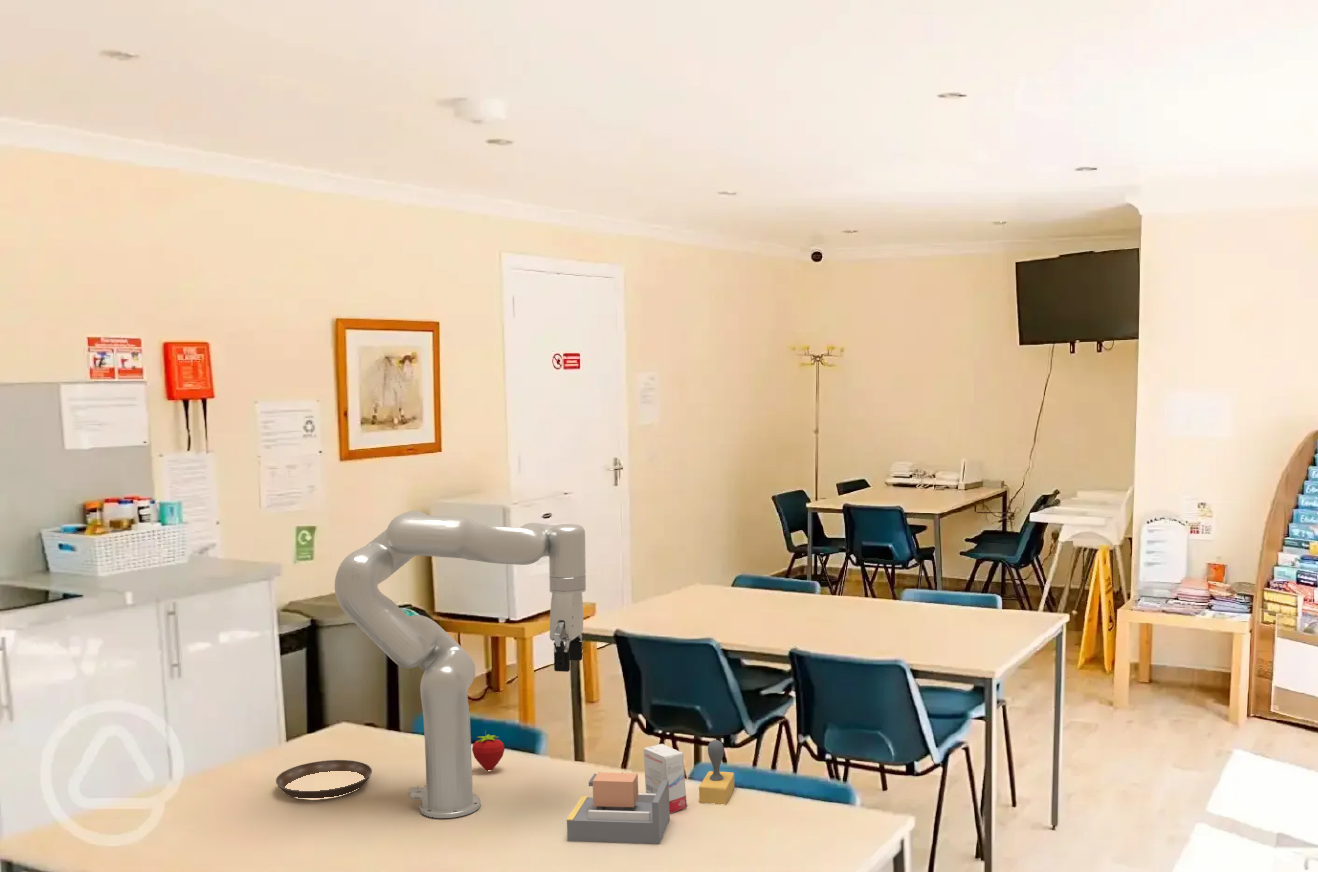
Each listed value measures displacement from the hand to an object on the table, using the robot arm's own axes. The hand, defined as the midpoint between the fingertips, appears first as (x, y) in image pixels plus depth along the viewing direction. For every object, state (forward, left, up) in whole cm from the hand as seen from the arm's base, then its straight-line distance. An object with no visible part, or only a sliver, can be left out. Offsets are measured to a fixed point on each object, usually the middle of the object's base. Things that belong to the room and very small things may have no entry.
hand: (568, 665), depth 236 cm
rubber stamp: (+29, +8, -30) cm, 43 cm away
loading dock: (+12, -12, -30) cm, 34 cm away
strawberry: (-25, +19, -30) cm, 43 cm away
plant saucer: (-59, +6, -30) cm, 66 cm away
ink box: (+19, +1, -30) cm, 36 cm away
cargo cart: (+12, -12, -26) cm, 31 cm away
